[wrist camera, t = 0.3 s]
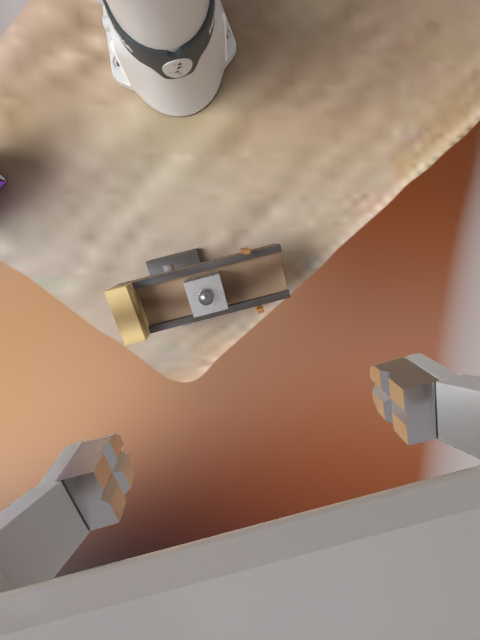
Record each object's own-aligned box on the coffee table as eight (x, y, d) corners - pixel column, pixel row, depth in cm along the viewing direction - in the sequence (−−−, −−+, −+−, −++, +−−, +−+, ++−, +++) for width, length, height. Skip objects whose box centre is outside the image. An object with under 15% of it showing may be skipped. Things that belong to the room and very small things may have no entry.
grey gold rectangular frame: (128, 265, 52) (98, 277, 38) (264, 231, 52) (281, 230, 38) (150, 327, 55) (130, 358, 42) (278, 295, 55) (298, 314, 42)
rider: (186, 278, 43) (182, 284, 38) (218, 270, 43) (219, 275, 38) (195, 310, 44) (193, 320, 40) (227, 302, 44) (228, 310, 40)
